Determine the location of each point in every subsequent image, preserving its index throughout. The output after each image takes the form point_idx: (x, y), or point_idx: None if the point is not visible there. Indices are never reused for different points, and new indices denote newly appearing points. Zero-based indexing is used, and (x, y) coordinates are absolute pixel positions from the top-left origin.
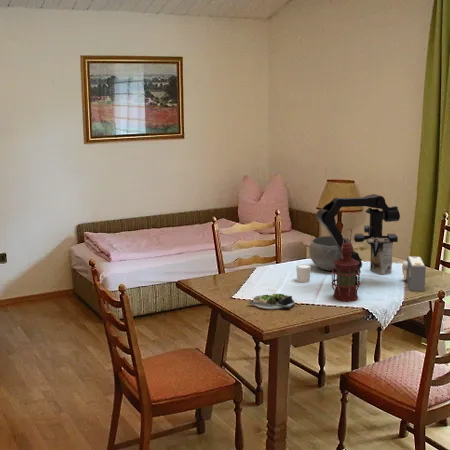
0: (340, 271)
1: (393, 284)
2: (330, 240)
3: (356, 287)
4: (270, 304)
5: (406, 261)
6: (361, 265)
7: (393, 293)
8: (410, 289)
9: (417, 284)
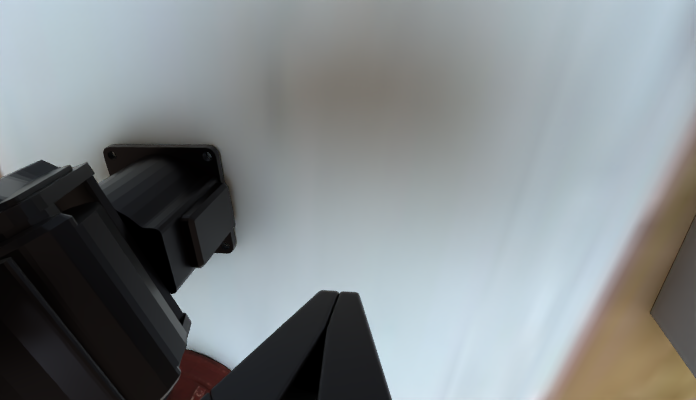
0: None
1: (571, 142)
2: None
3: (235, 243)
4: None
5: None
6: (180, 357)
7: (489, 353)
8: (656, 321)
9: None
